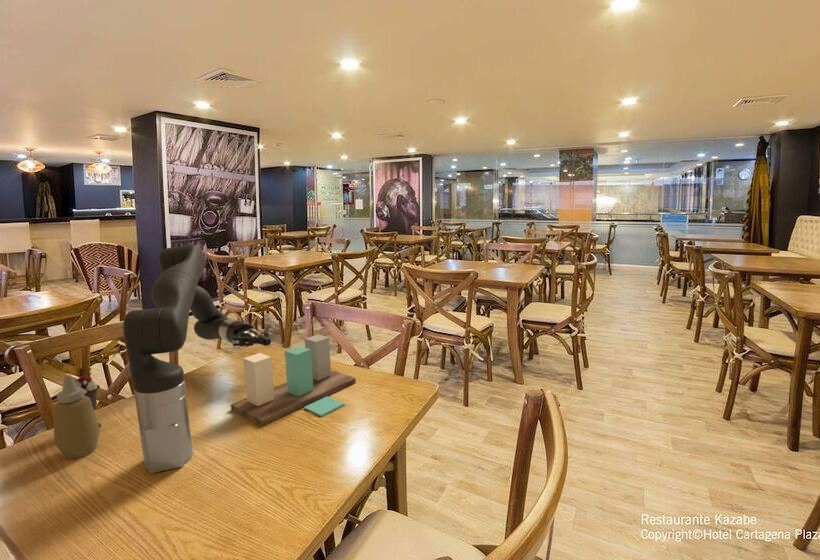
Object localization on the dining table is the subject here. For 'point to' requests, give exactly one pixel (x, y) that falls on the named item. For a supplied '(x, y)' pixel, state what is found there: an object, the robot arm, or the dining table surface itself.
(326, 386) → the dark wooden board
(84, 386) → the sundae
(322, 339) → the tall grey rectangular prism
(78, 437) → the squeeze bottle
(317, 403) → the pad
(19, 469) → the dining table surface
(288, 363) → the tall teal pillar
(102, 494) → the dining table surface
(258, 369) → the cream tall rectangular block
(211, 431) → the dining table surface
